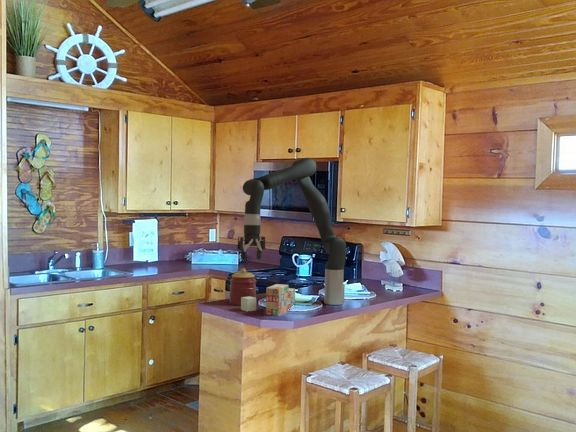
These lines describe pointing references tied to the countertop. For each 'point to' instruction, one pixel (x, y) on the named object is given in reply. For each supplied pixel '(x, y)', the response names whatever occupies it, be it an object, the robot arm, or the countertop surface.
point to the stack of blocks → (279, 299)
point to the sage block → (248, 303)
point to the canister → (242, 286)
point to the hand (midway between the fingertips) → (251, 259)
